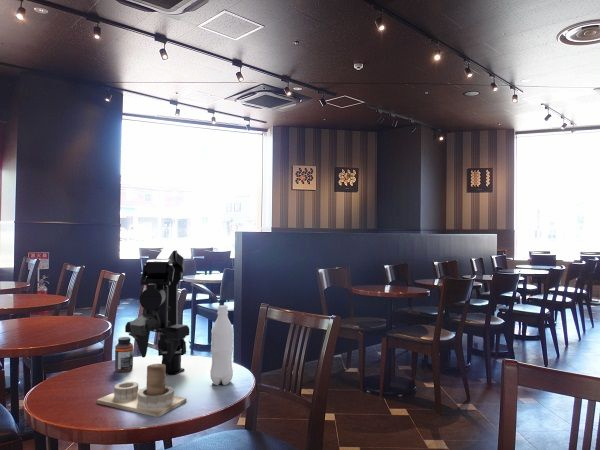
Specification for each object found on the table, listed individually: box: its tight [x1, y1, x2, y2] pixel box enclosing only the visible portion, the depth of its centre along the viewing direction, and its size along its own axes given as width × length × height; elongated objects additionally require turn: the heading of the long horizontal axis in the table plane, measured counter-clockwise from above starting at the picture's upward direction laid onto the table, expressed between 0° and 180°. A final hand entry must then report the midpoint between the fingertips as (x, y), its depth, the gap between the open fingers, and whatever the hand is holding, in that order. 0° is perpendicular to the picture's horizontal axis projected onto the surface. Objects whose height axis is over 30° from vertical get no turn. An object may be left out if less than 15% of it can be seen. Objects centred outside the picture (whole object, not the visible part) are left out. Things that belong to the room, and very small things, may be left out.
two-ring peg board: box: [96, 381, 187, 418], centre depth 129 cm, size 12×22×4 cm, turn 66°
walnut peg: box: [146, 363, 166, 396], centre depth 127 cm, size 5×5×10 cm
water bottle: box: [209, 304, 234, 386], centre depth 146 cm, size 7×7×25 cm
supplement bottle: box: [114, 336, 134, 373], centre depth 158 cm, size 6×6×11 cm
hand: (156, 359), depth 127 cm, fingers open, 9 cm apart
